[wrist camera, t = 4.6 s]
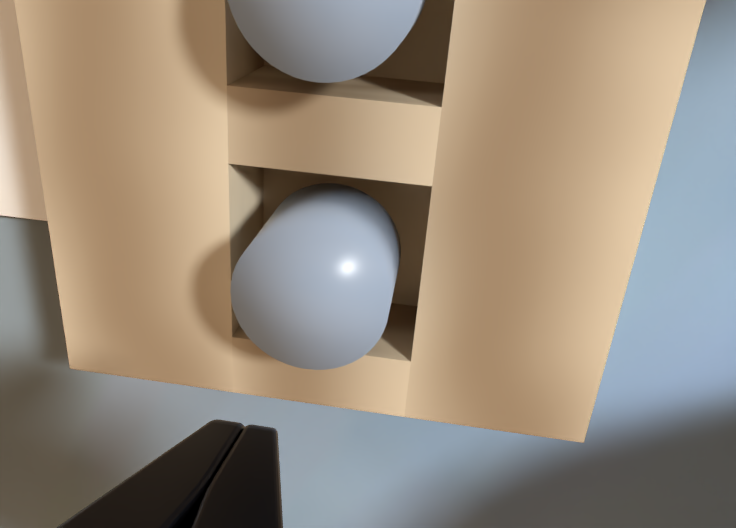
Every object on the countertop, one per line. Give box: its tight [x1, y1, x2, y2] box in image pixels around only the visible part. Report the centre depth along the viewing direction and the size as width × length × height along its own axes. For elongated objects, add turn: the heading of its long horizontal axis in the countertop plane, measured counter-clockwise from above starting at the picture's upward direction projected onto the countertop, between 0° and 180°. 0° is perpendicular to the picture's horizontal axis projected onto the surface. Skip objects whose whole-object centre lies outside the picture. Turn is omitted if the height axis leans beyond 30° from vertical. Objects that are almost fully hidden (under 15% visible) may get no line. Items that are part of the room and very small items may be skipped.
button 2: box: [230, 183, 401, 370], centre depth 13 cm, size 3×3×2 cm
